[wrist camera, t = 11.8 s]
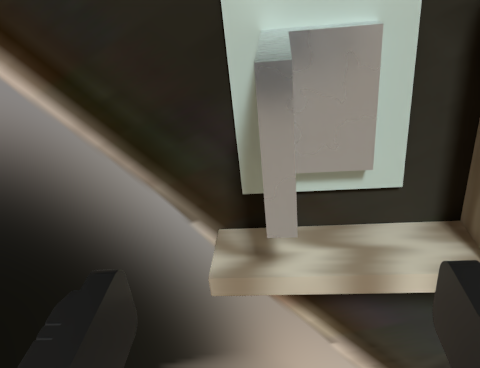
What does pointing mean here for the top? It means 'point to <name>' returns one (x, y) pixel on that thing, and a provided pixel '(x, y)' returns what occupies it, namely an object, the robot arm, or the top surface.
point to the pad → (390, 84)
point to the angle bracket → (314, 108)
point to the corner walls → (348, 254)
